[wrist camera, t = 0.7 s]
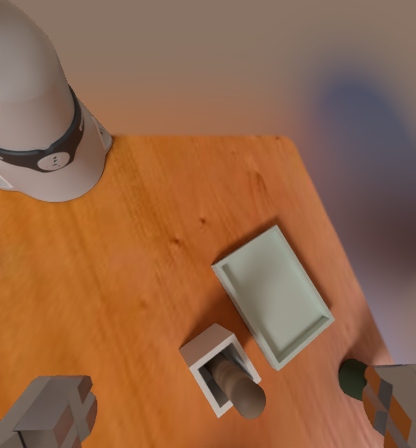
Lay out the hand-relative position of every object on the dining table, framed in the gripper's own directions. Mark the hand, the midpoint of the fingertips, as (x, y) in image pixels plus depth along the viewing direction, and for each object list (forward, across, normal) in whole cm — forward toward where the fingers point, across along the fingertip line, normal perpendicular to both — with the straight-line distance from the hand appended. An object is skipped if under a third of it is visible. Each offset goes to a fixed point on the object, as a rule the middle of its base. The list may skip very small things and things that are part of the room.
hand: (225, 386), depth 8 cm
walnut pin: (+28, +3, +25) cm, 38 cm away
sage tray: (+36, -8, +20) cm, 42 cm away
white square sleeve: (+29, +3, +26) cm, 39 cm away
